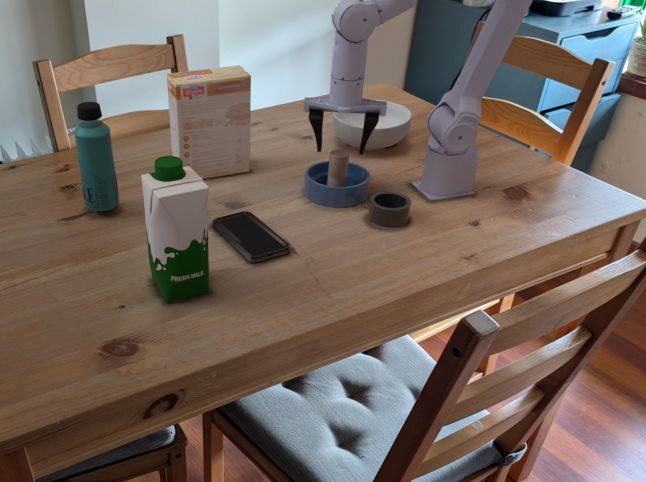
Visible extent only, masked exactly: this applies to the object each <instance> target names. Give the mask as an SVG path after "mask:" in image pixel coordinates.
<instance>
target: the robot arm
mask: <svg viewBox="0 0 646 482" xmlns="http://www.w3.org/2000/svg"><path fill="white" fill-rule="evenodd" d="M417 1H418V0H341V1H339V2H338V3H337V6H336V7H335V9H334V11H333V13H332V14H331V23H332V25H333V28H335V32H334V45H333V47H332V48H333V49H332V59H331V70H330V71H331V72H330V84H329V85H330V86H329V96H317V97H316V96H313V97H308V96H307V97H304V99H303V108H302V112H303V113H308V121H309V123H310V126H311V128H312V131H313V134H314V137H315V143H316V152H317V153H322V149H323V127H324V126H323V125H324V114H325V113H333V112H339V113H360V114H365V118H364V126H363V134H362V139H361V143H360V149H359V153H358V155H360V156H363V155H364V152H365V150H364V149H365V146H366V143H367V141H368V139H369V137H370V135H371V133H372V131H373V130H374V128H375V127H376V125H377V124H378V121H379V116H386V109H387V102H384V101H385V100H383V101H376V100H377V99H370V98H364V97H363V95H364V93H363V92H364V83H365V75H366V67H367V66H366V65H367V58H368V45H369V38H370V37H371V36H372V34H373V33H374V31H375V29H376V28H377V27H379V26H381V25H383V24H385V23H386V22H389V21H391V20H392V19H394V18H396V17H398V16H400V15H402V14H403V13H405V12H407V11H409V10H411V9H413V8H414V7H415V5H416V4H417ZM533 1H534V0H495V1H494V4H492V6H491V7H492V8H491V10H490V12H489V14H488V16H487V18H486V19H485V22H484V24H483V26H482V28H481V30H480V32H479V34H478V37H477V38H476V40H475V43H474V45H473V47H472V49H471V50H470V52H469V55H468V57H467V59H466V61H465V63H464V65H463V68H462V70H461V71H460V73H459V76H458V77H457V80H456V82H455V83H454V85H453V88H452V89H449V91H447V92H445V93H444V94H443V95H442V97H441V99H440V101H439V102H438V104H437V105H435V106H434V107H433V108H432V109H431V111H430V112H429V113H428V116H427V119H426V127H427V130H428V131H429V132H430V136H429V139H428V142H427V147H426V152H425V157H424V163H423V167H422V172H421V173H422V174H421V178H420V179H421V180H416V181H415V180H414V181H412V182H411V184H412V185H413V186H414V187H415V188H416V189H417V190H419V191H420V192H421V193H422V194H423V195H425V196H426V197H427V198H428V199H429V200H431V201H433V200H440V199H447V198H454V197H460V196H466V195H467V196H468V195H474V194H475V191H473V189H474V184H475V180H476V176H477V171H478V168H479V162H480V157H479V151H478V148H477V147H476V146H475V141H476V139H477V136H478V126H479V124H480V122H481V120H482V100H483V98H484V97H485V94H486V92H487V90H488V89H489V86H490V84H491V83H492V81H493V79H494V77H495V74H496V73H497V71H498V69H499V67H500V66H501V63H502V62H503V59H504V57H505V56H506V53H507V52H508V49H509V48H510V46H511V43H512V42H513V40H514V37H515V36H516V33H517V32H518V30H519V28H520V26H521V24H522V23H523V20H524V19H525V17H526V14H527V12H528V11H529V9H530V6H531V5H532V3H533Z"/></svg>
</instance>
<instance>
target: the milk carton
mask: <svg viewBox="0 0 646 482" xmlns="http://www.w3.org/2000/svg"><path fill="white" fill-rule="evenodd" d="M140 177H141V186H142V195H143V206H144V207H143V208H144V218H145V219H144V220H145V229H146V241H147V242H146V243H147V252H148V262H149V267H150V273H151V279H152V281H153V283H154V284H155V286H156V287H157V289H158V290H159V292H160V294H161V295H162V297H163V298H164V300H165V302H166V303H167V304H169V303H173V302H178V301H181V300H185V299H189V298H193V297H197V296H201V295H206V294H209V293H210V262H209V261H210V260H209V259H210V258H209V218H208V217H209V214H208V213H209V212H208V211H209V210H208V204H209V193H210V187H209V186H208V184H206V182H205V181H204V179H202V178H201V177H200V176H199V175H198V174H197V173H196V172H195V171H194V170H193V169H192V168H191V167H190V166H187V167H183V161H182V159H181V158H179V157H175V156H172V155H163V156H160V157H158V158H156V159H155V160H154V171H151V172H148V173H145V174H141V175H140Z"/></svg>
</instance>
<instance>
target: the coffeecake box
mask: <svg viewBox="0 0 646 482" xmlns="http://www.w3.org/2000/svg"><path fill="white" fill-rule="evenodd" d="M166 81H167V82H166V83H167V84H166V85H167V101H168V114H169V115H168V118H169V133H170V148H171V156H175V157H179V158H181V159H182V161H183V167H187V166H190V167H191V168H192V169H193V170H194V171H195V172H196V173H197V174H198V175H199V176H200V177H201V178H202V179H203V180H204V179H210V178H218V177H223V176H230V175H236V174H243V173H244V174H245V173H250V171H251V113H252V112H251V111H252V110H251V109H252V108H251V107H252V106H251V103H252V101H251V100H252V99H251V98H252V74H250V73H249V72H248V71H246V70H245V68H244V67H243V66H241V65H240V64H238V65H237V64H236V65H230V66H222V67H212V68H204V69H197V70H196V69H195V70H188V71H179V72H170V73H167V74H166Z"/></svg>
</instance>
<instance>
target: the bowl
mask: <svg viewBox="0 0 646 482" xmlns="http://www.w3.org/2000/svg"><path fill="white" fill-rule="evenodd" d="M328 169H329V160H322V161H318V162H315V163H312V164H311V165H309V166H308V167H307V168H306V170H305V171H304V179H303V180H304V181H303V183H304V184H303V195H304V197H305V198H306V199H307V200H308V201H310V202H312V203H314V204H316V205H319V206H323V207H327V208H350V207H355V206H358V205H360V204H363V203H365V201H367V199H368V196H369V192H370V184H371V179H372V178H371V177H372V176H371V173H370V171H369V170H368V169H367V168H366V167H364V166H362V165H360V164H358V163H355V162H351V161H349V164H348V173H347V181H346V187H333V186H327V180H328Z"/></svg>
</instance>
